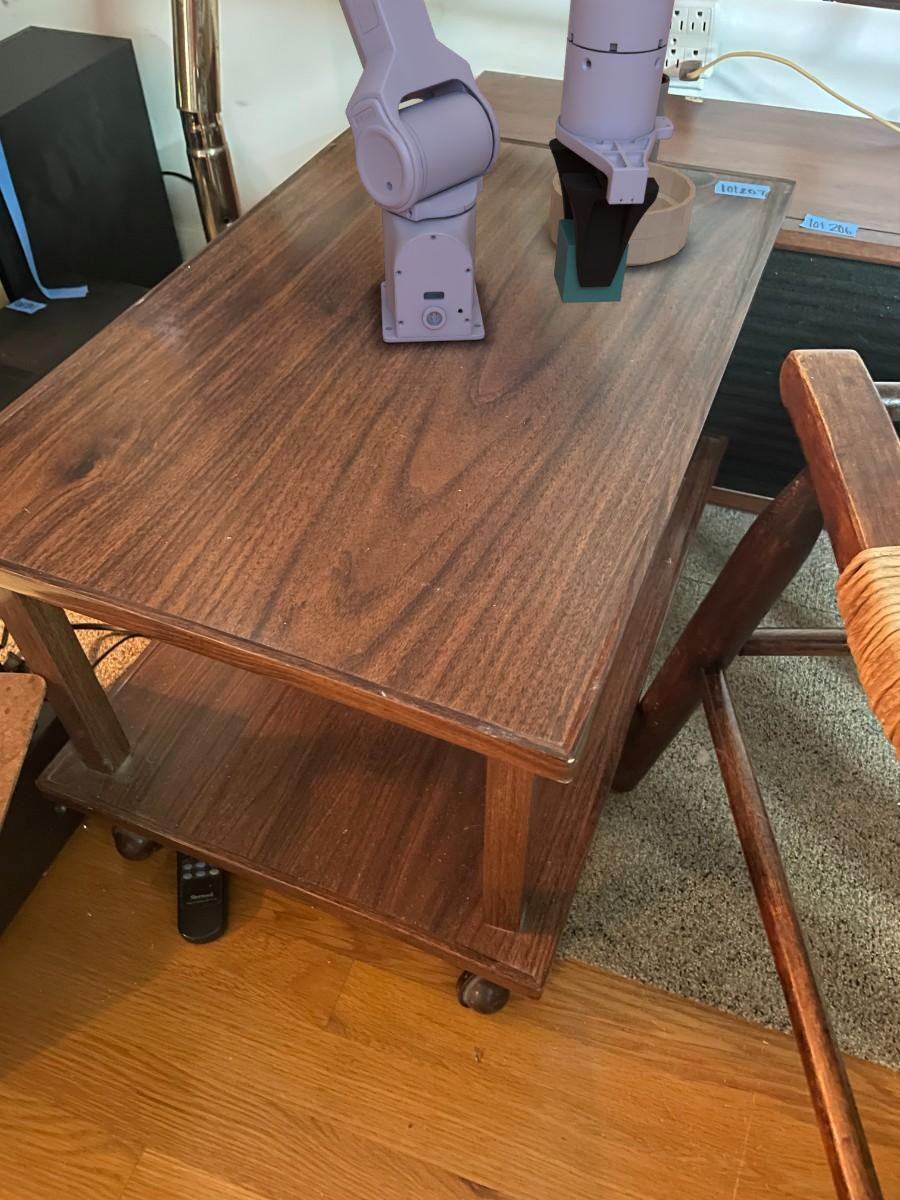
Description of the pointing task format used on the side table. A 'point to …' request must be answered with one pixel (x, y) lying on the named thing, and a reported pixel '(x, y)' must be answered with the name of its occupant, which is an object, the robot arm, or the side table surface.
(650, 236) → the bowl
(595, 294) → the block
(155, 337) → the side table surface
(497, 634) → the side table surface
